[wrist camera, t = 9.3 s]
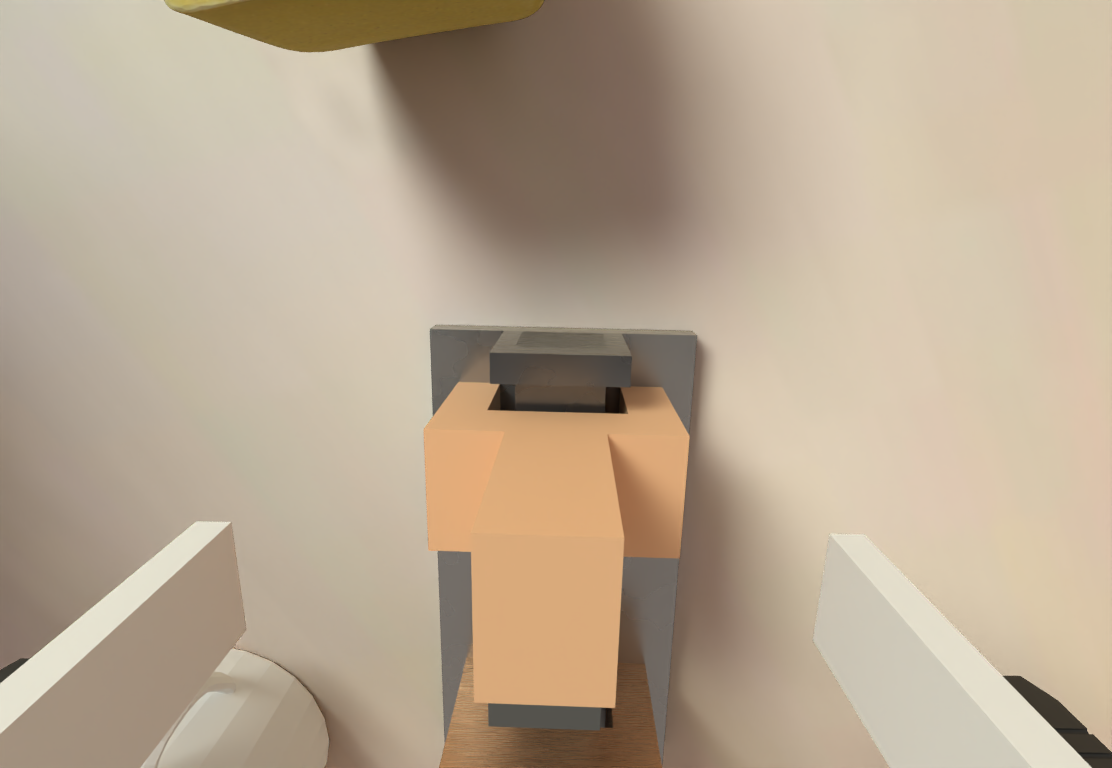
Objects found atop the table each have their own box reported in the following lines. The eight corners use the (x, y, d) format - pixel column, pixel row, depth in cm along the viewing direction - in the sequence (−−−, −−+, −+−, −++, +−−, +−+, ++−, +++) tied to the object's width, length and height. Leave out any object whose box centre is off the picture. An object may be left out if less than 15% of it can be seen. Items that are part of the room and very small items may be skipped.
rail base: (449, 739, 28) (357, 1119, 16) (435, 324, 23) (286, 430, 11) (659, 747, 28) (723, 1139, 16) (691, 330, 23) (823, 444, 11)
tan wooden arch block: (662, 387, 23) (748, 542, 11) (654, 497, 24) (726, 735, 13) (458, 381, 23) (349, 529, 12) (461, 491, 24) (363, 721, 13)
